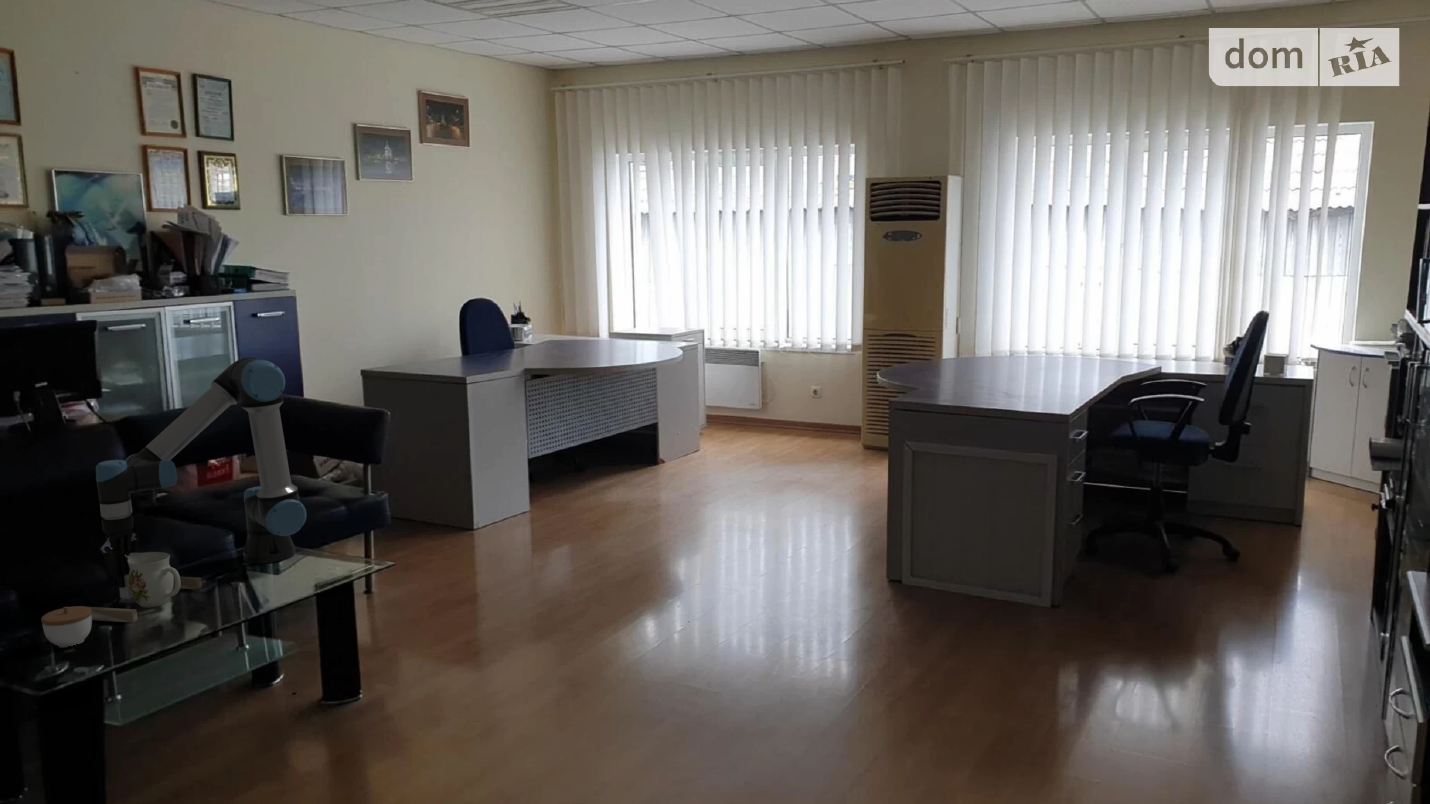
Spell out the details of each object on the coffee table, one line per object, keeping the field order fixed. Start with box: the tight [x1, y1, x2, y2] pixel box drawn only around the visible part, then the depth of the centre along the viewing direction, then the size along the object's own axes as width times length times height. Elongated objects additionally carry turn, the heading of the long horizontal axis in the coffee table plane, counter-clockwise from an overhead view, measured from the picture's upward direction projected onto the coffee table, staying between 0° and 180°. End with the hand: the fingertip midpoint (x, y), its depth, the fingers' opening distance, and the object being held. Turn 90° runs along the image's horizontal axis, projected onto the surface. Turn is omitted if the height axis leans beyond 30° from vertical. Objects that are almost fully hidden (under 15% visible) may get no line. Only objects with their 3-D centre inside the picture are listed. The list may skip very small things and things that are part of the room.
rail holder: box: [88, 576, 203, 623], centre depth 283 cm, size 27×15×3 cm, turn 169°
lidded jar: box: [40, 605, 93, 648], centre depth 256 cm, size 11×11×9 cm
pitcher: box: [125, 551, 181, 608], centre depth 282 cm, size 11×18×14 cm, turn 72°
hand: (126, 597), depth 285 cm, fingers closed
